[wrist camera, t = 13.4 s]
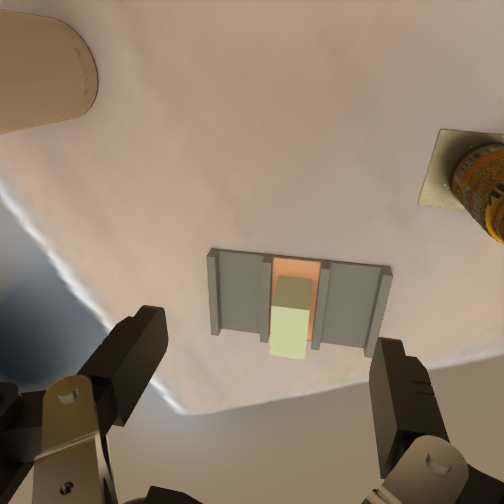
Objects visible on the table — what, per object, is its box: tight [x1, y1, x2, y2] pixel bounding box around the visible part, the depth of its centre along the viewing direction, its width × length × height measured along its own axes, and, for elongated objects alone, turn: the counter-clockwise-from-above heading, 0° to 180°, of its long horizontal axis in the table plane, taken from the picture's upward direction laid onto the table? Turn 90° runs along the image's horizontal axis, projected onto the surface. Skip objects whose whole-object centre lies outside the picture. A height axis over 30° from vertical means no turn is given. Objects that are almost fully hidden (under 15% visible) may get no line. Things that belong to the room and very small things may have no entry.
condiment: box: [418, 130, 504, 244], centre depth 28 cm, size 7×8×12 cm
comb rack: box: [207, 249, 393, 358], centre depth 43 cm, size 21×12×2 cm, turn 89°
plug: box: [270, 276, 312, 360], centre depth 41 cm, size 4×7×6 cm, turn 0°
